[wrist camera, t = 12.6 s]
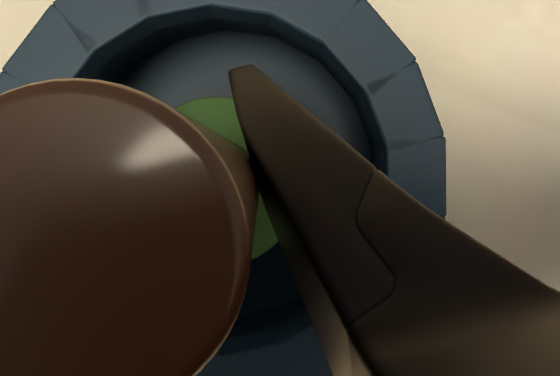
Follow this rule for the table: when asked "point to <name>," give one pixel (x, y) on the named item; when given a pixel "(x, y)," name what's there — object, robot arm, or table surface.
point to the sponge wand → (121, 230)
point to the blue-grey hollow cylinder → (215, 83)
